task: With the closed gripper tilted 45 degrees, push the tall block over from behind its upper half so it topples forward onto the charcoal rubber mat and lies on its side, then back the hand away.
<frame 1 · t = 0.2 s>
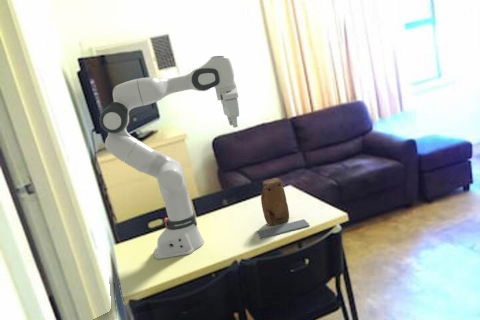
hand: (233, 126, 180), 48 cm above the table, tool pointing down, fingers open, 8 cm apart
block: (277, 222, 192), on the table
mat: (283, 229, 183), on the table
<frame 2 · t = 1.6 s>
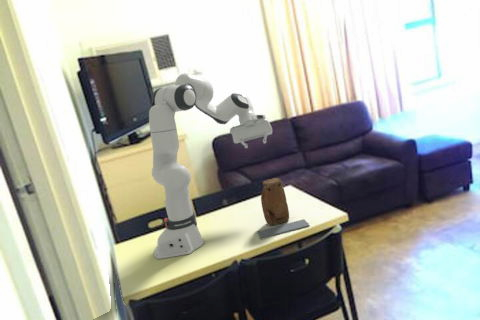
hand: (255, 145, 205), 33 cm above the table, tool tilted 45°, fingers open, 8 cm apart
nothing on the table moved.
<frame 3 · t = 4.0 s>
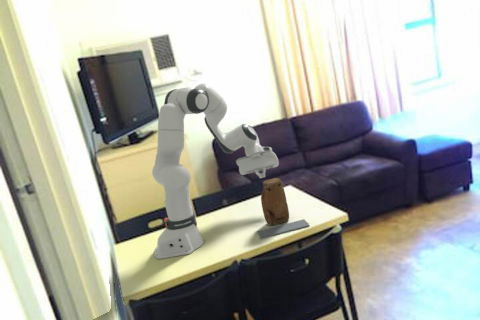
hand: (262, 177, 205), 17 cm above the table, tool tilted 45°, fingers closed
nothing on the table moved.
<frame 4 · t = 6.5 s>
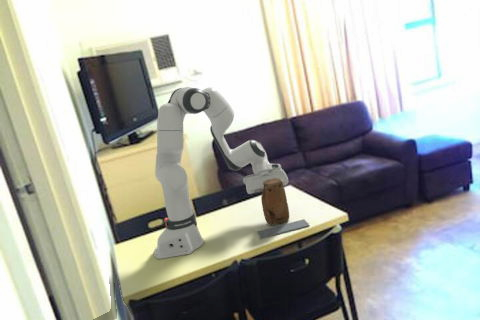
hand: (271, 196, 194), 11 cm above the table, tool tilted 45°, fingers closed
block: (277, 221, 192), on the table, touching gripper
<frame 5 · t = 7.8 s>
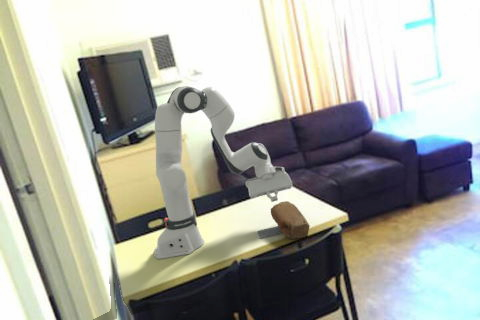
hand: (274, 200, 187), 11 cm above the table, tool tilted 45°, fingers closed
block: (280, 208, 187), point 8 cm above the table
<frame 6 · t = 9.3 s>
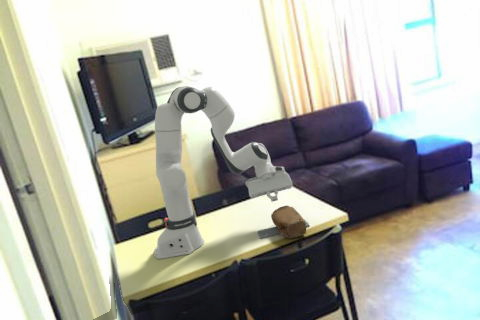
hand: (274, 200, 187), 11 cm above the table, tool tilted 45°, fingers closed
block: (281, 213, 189), point 5 cm above the table, touching mat
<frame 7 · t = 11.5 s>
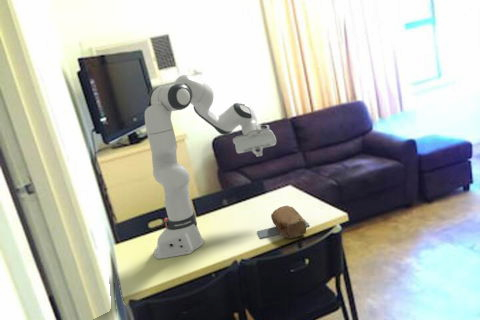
hand: (259, 155, 200), 29 cm above the table, tool tilted 45°, fingers closed
nothing on the table moved.
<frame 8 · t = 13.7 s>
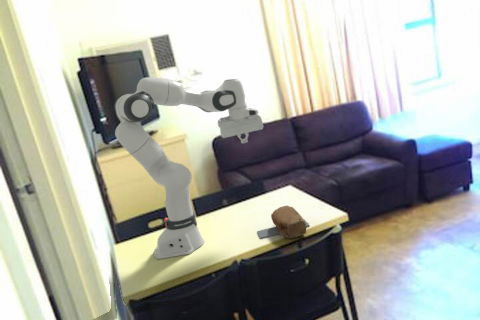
hand: (244, 142, 196), 37 cm above the table, tool pointing down, fingers closed
nothing on the table moved.
at the end: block tilted 92°; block touching mat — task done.
